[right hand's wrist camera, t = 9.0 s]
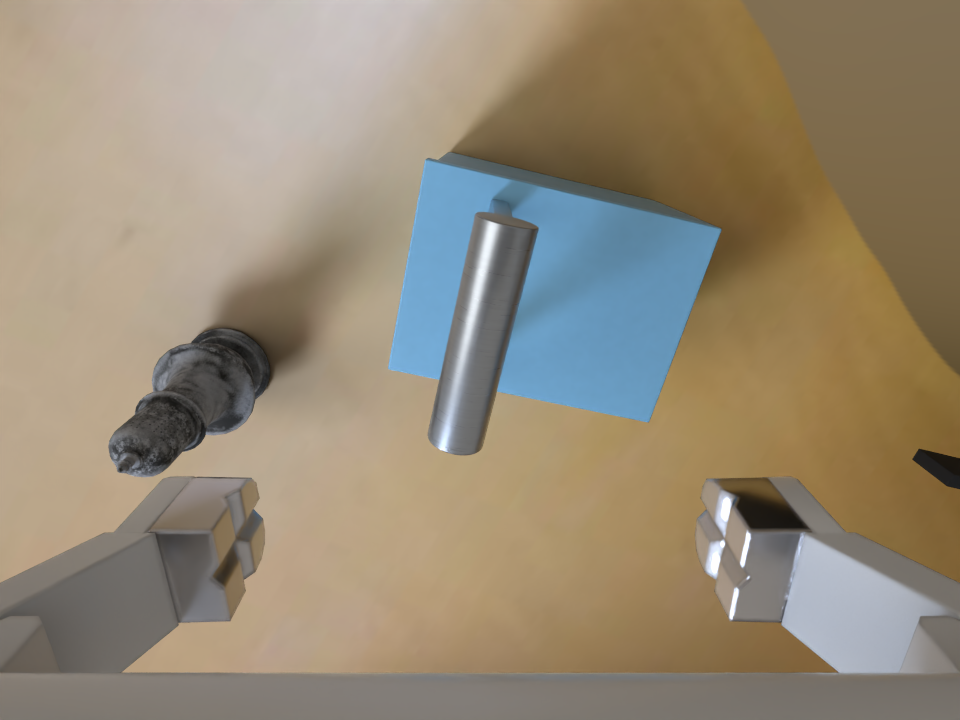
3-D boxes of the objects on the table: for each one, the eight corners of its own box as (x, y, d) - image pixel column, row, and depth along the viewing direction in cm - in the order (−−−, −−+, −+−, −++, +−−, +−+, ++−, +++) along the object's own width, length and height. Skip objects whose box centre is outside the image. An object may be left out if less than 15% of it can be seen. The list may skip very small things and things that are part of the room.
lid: (391, 361, 27) (354, 455, 19) (427, 157, 24) (401, 171, 16) (643, 413, 28) (706, 522, 20) (713, 225, 25) (820, 269, 17)
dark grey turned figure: (198, 307, 35) (67, 390, 24) (288, 350, 36) (203, 448, 25) (169, 384, 37) (37, 494, 26) (256, 422, 38) (164, 543, 27)
